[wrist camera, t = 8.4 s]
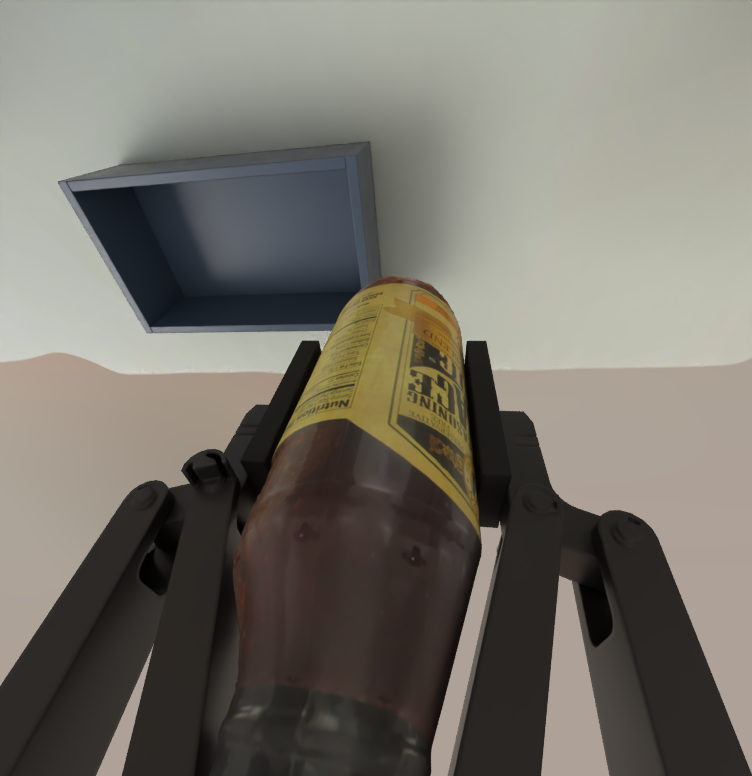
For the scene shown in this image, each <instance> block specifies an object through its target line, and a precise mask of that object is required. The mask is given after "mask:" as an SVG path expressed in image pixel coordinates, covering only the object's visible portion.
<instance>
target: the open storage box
mask: <svg viewBox="0 0 752 776" xmlns="http://www.w3.org/2000/svg"><path fill="white" fill-rule="evenodd" d="M58 184H59V185H60V187H61V189H62V191H63V192H64V194H65V196H66V197H67V199H68V201H69V202H70V204H71V206H72V207H73V209H74V211H75V213H76V214H77V216H78V218H79V219H80V221H81V223H82V224H83V226H84V228H85V229H86V231H87V233H88V235H89V236H90V238H91V240H92V241H93V243H94V245H95V246H96V248H97V250H98V251H99V253H100V255H101V257H102V258H103V260H104V262H105V263H106V265H107V267H108V268H109V270H110V272H111V274H112V275H113V277H114V279H115V280H116V282H117V284H118V285H119V287H120V289H121V290H122V292H123V294H124V296H125V297H126V299H127V301H128V302H129V304H130V306H131V307H132V309H133V311H134V312H135V314H136V316H137V318H138V319H139V321H140V323H141V324H142V326H143V328H144V329H145V331H146V333H194V332H265V331H332V330H333V328H334V326H335V324H336V322H337V319H338V317H339V315H340V313H341V312H342V310H343V308H344V307H345V306H346V304H347V303H348V302H349V301H350V300H351V299H352V298H353V297H354V296H355V295H356V294H357V293H358V292H359V291H360V290H361V289H363V288H364V287H366V285H369V284H371V283H372V282H375V281H376V280H378V279H380V278H381V267H380V255H379V243H378V231H377V219H376V207H375V195H374V183H373V171H372V159H371V147H370V142H359V143H349V144H338V145H328V146H317V147H307V148H296V149H285V150H275V151H264V152H254V153H243V154H233V155H222V156H211V157H201V158H190V159H180V160H169V161H159V162H148V163H137V164H127V165H117V166H114V167H110V168H106V169H103V170H99V171H95V172H92V173H88V174H84V175H80V176H77V177H73V178H69V179H66V180H62V181H58Z"/></svg>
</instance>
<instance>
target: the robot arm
mask: <svg viewBox="0 0 752 776" xmlns="http://www.w3.org/2000/svg"><path fill="white" fill-rule="evenodd" d="M320 355H321V349H320V344H319V341H302V342H301V344H300V346H299V348H298V350H297V352H296V354H295V356H294V357H293V359H292V361H291V363H290V365H289V367H288V369H287V371H286V373H285V375H284V377H283V379H282V381H281V383H280V385H279V387H278V388H277V391H276V392H275V394H274V396H273V398H272V400H271V402H270V404H269V405H255V406H254V407H253V408H252V409H251V410H250V411H249V412H248V413H247V414H246V415H245V417H244V419H243V420H242V422H241V424H240V426H239V428H238V429H237V431H236V434H235V435H234V436H233V438H232V440H231V441H230V443H229V445H228V447H227V448H226V450H225V452H224V453H223V452H221V451H220V450H216V449H210V450H209V449H208V450H205V451H201V452H199V453H197V454H196V455H194V456H192V457H191V458H190V459H189V460H188V461H187V462H186V463H185V464H184V466H183V468H182V470H181V471H182V472H183V474H184V475H185V477H186V478H187V479H188V481H189V482H190V484H186V485H181V486H177V487H173V488H168V487H167V485H166V484H164V483H163V482H162V481H157V480H155V481H149V482H146V483H144V484H141V485H139V486H138V487H136V488H135V489H134V490H132V491H131V492H130V493H129V494H128V495H127V497H126V498H125V499H124V500H123V502H122V503H121V505H120V507H119V508H118V509H117V511H116V513H115V514H114V516H113V517H112V519H111V520H110V522H109V523H108V525H107V526H106V528H105V529H104V531H103V532H102V534H101V535H100V537H99V538H98V540H97V541H96V543H95V544H94V546H93V547H92V549H91V550H90V552H89V553H88V555H87V556H86V558H85V559H84V561H83V562H82V564H81V565H80V567H79V568H78V570H77V571H76V573H75V575H74V576H73V577H72V579H71V580H70V582H69V583H68V585H67V586H66V588H65V589H64V591H63V592H62V594H61V596H60V597H59V598H58V600H57V601H56V603H55V604H54V606H53V607H52V609H51V611H50V612H49V613H48V615H47V617H46V618H45V619H44V621H43V623H42V624H41V626H40V627H39V629H38V630H37V632H36V633H35V635H34V636H33V638H32V639H31V641H30V642H29V644H28V645H27V647H26V648H25V650H24V651H23V653H22V654H21V656H20V657H19V659H18V660H17V662H16V663H15V665H14V666H13V668H12V669H11V671H10V672H9V674H8V675H7V677H6V678H5V680H4V681H3V683H2V685H1V686H0V776H96V774H97V772H98V769H99V767H100V765H101V763H102V760H103V758H104V756H105V753H106V751H107V749H108V747H109V744H110V742H111V740H112V737H113V735H114V733H115V731H116V729H117V726H118V724H119V721H120V719H121V717H122V715H123V713H124V710H125V708H126V706H127V703H128V701H129V699H130V697H131V694H132V692H133V690H134V687H135V685H136V683H137V681H138V678H139V676H140V674H141V672H142V669H143V667H144V665H145V662H146V660H147V658H148V656H149V653H150V651H151V649H152V646H153V644H154V646H153V650H152V655H151V659H150V663H149V667H148V671H147V675H146V679H145V683H144V687H143V691H142V695H141V699H140V704H139V708H138V712H137V716H136V720H135V725H134V728H133V733H132V737H131V741H130V745H129V749H128V753H127V757H126V761H125V765H124V769H123V773H122V776H209V774H210V771H211V769H212V766H213V763H214V761H215V758H216V755H217V744H218V732H219V729H220V726H221V723H222V722H223V720H224V718H225V717H226V715H227V712H228V710H229V707H230V703H231V700H232V698H233V696H234V693H235V683H236V679H237V676H238V659H239V641H240V634H239V626H238V623H237V607H236V602H235V601H236V596H235V591H234V583H233V565H234V551H235V549H236V547H237V546H238V544H239V541H240V538H241V535H242V531H243V529H244V526H245V524H246V521H247V518H248V516H249V513H250V511H251V509H252V507H253V505H254V503H255V502H256V500H257V496H258V495H259V494H260V493H261V491H262V488H263V486H264V485H265V483H266V480H267V477H268V474H269V471H270V470H271V464H272V459H273V455H274V453H275V451H276V448H277V446H278V444H279V442H280V440H281V438H282V435H283V433H284V431H285V429H286V427H287V425H288V423H289V421H290V419H291V417H292V415H293V413H294V411H295V409H296V406H297V404H298V402H299V400H300V398H301V396H302V394H303V392H304V390H305V387H306V385H307V383H308V381H309V379H310V377H311V375H312V373H313V370H314V368H315V366H316V364H317V362H318V360H319V358H320ZM464 366H465V376H466V386H467V395H468V398H469V399H468V404H469V416H470V428H471V433H472V444H473V463H474V469H475V480H476V489H477V499H478V507H479V522H480V527H493V528H498V525H499V521H500V525H501V530H502V531H501V532H502V535H501V538H500V542H499V545H498V549H497V556H496V560H495V565H494V570H493V574H492V579H491V583H490V588H489V592H488V596H487V601H486V605H485V610H484V615H483V620H482V624H481V628H480V633H479V637H478V642H477V646H476V651H475V656H474V660H473V664H472V669H471V673H470V678H469V682H468V687H467V691H466V696H465V700H464V705H463V710H462V714H461V718H460V723H459V727H458V732H457V736H456V741H455V746H454V750H453V755H452V759H451V764H450V768H449V773H448V776H541V769H542V758H543V747H544V736H545V724H546V714H547V702H548V691H549V680H550V670H551V658H552V647H553V636H554V625H555V614H556V603H557V592H558V581H559V575H560V576H562V577H565V578H567V579H569V580H572V584H573V589H574V594H575V599H576V604H577V609H578V615H579V619H580V625H581V630H582V635H583V640H584V646H585V651H586V656H587V661H588V666H589V672H590V677H591V682H592V687H593V692H594V698H595V703H596V707H597V713H598V718H599V723H600V729H601V734H602V739H603V744H604V749H605V754H606V760H607V765H608V770H609V775H610V776H752V774H751V772H750V769H749V766H748V764H747V761H746V759H745V756H744V754H743V751H742V749H741V746H740V744H739V741H738V739H737V736H736V734H735V731H734V729H733V726H732V724H731V721H730V719H729V716H728V714H727V711H726V709H725V706H724V703H723V701H722V699H721V696H720V693H719V691H718V688H717V686H716V683H715V681H714V678H713V676H712V673H711V671H710V668H709V666H708V663H707V661H706V658H705V656H704V653H703V651H702V648H701V646H700V643H699V641H698V638H697V635H696V633H695V630H694V628H693V626H692V623H691V620H690V618H689V615H688V613H687V610H686V608H685V605H684V603H683V600H682V598H681V595H680V593H679V590H678V588H677V585H676V583H675V580H674V578H673V575H672V573H671V570H670V568H669V565H668V563H667V560H666V557H665V555H664V553H663V550H662V547H661V545H660V542H659V540H658V538H657V536H656V534H655V533H654V531H653V529H652V528H651V527H650V526H649V525H648V524H646V523H645V522H644V521H643V520H642V519H640V518H639V517H637V516H635V515H633V514H631V513H628V512H624V511H620V510H614V511H608V512H606V513H604V514H602V516H598V515H595V514H592V513H589V512H587V511H584V510H581V509H578V508H576V507H573V506H571V505H569V504H568V503H566V502H565V501H563V500H562V499H561V498H560V497H559V495H557V494H556V493H555V491H554V490H553V489H552V486H551V484H550V481H549V477H548V474H547V470H546V467H545V463H544V460H543V456H542V453H541V449H540V447H539V442H538V438H537V437H536V431H535V428H534V424H533V422H532V421H531V420H530V419H529V417H528V416H527V415H526V414H525V413H524V412H520V411H518V412H517V411H499V406H498V401H497V395H496V390H495V385H494V380H493V374H492V369H491V364H490V359H489V354H488V348H487V343H486V341H467V345H466V355H465V365H464Z"/></svg>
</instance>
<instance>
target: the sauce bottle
mask: <svg viewBox="0 0 752 776" xmlns="http://www.w3.org/2000/svg"><path fill="white" fill-rule="evenodd" d="M468 399H469V398H468V395H467V386H466V376H465V366H464V357H463V348H462V337H461V331H460V328H459V325H458V321H457V319H456V317H455V315H454V312H453V311H452V309H451V308H450V306H449V304H448V302H447V301H446V300H445V299H444V297H443V296H442V295H441V294H439V292H438V291H437V290H436V289H435V288H434V287H433V286H432V285H430V284H427V283H424V282H422V281H419V280H415V279H409V278H398V277H387V278H380V279H378V280H376V281H375V282H372V283H371V284H369V285H366V287H364V288H363V289H361V290H360V291H359V292H358V293H357V294H356V295H355V296H354V297H353V298H352V299H351V300H350V301H349V302H348V303H347V304H346V306H345V307H344V308H343V310H342V312H341V313H340V315H339V317H338V319H337V322H336V324H335V326H334V328H333V330H332V332H331V334H330V336H329V338H328V340H327V342H326V344H325V346H324V349H323V351H322V353H321V355H320V358H319V360H318V362H317V364H316V366H315V368H314V370H313V373H312V375H311V377H310V379H309V381H308V383H307V385H306V387H305V390H304V392H303V394H302V396H301V398H300V400H299V402H298V404H297V406H296V409H295V411H294V413H293V415H292V417H291V419H290V421H289V423H288V425H287V427H286V429H285V431H284V433H283V435H282V438H281V440H280V442H279V444H278V446H277V448H276V451H275V453H274V455H273V459H272V464H271V470H270V471H269V474H268V477H267V480H266V483H265V485H264V486H263V488H262V491H261V493H260V494H259V495H258V496H257V500H256V502H255V503H254V505H253V507H252V509H251V511H250V513H249V516H248V518H247V521H246V524H245V526H244V529H243V531H242V535H241V538H240V541H239V544H238V546H237V547H236V549H235V551H234V565H233V583H234V591H235V596H236V601H235V602H236V607H237V623H238V626H239V634H240V641H239V659H238V676H237V679H236V683H235V693H234V696H233V698H232V700H231V703H230V707H229V710H228V712H227V715H226V717H225V718H224V720H223V722H222V723H221V726H220V729H219V732H218V744H217V755H216V758H215V761H214V763H213V766H212V769H211V771H210V774H209V776H430V775H431V748H432V744H433V740H434V736H435V732H436V729H437V725H438V721H439V718H440V714H441V710H442V706H443V702H444V699H445V695H446V691H447V686H448V683H449V679H450V675H451V671H452V667H453V663H454V659H455V655H456V651H457V647H458V644H459V640H460V635H461V632H462V628H463V623H464V620H465V616H466V612H467V608H468V604H469V600H470V596H471V592H472V588H473V584H474V580H475V576H476V572H477V568H478V565H479V561H480V558H481V550H482V544H481V533H480V522H479V507H478V499H477V489H476V480H475V469H474V463H473V444H472V433H471V428H470V416H469V404H468Z"/></svg>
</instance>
